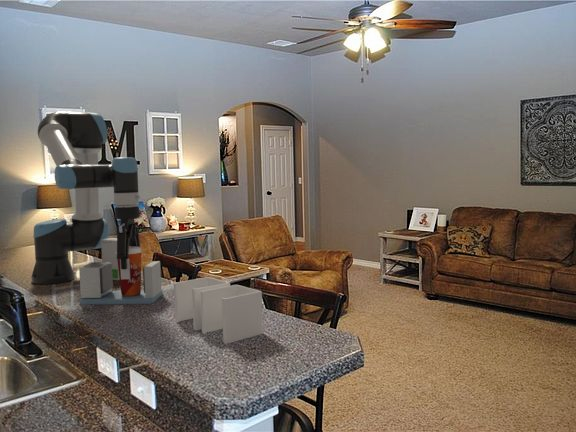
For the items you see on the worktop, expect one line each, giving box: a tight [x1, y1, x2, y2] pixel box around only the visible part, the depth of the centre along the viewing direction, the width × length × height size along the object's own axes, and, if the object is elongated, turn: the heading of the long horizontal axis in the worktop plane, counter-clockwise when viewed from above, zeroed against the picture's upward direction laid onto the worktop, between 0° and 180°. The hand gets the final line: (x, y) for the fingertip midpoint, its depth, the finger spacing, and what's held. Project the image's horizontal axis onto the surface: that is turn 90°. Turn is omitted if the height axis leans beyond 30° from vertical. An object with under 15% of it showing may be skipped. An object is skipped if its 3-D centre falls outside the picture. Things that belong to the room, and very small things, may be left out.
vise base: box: [79, 260, 164, 306], centre depth 168 cm, size 12×23×12 cm, turn 88°
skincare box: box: [101, 237, 120, 281], centre depth 202 cm, size 8×7×16 cm
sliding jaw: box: [78, 261, 114, 299], centre depth 168 cm, size 10×7×10 cm
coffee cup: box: [116, 246, 143, 296], centre depth 168 cm, size 8×8×15 cm
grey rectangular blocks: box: [173, 276, 264, 345], centre depth 136 cm, size 25×11×11 cm, turn 40°
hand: (130, 276), depth 168 cm, fingers closed on coffee cup, 8 cm apart
